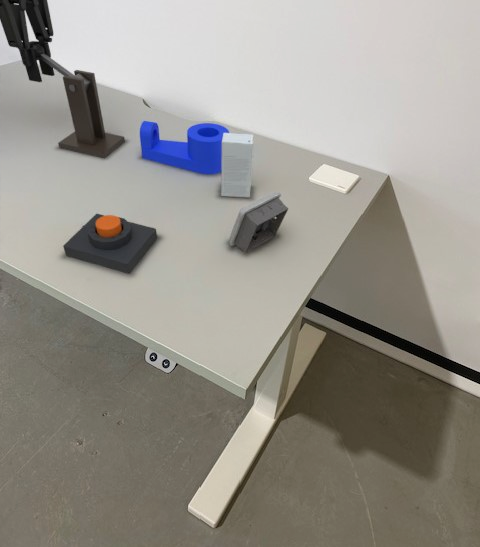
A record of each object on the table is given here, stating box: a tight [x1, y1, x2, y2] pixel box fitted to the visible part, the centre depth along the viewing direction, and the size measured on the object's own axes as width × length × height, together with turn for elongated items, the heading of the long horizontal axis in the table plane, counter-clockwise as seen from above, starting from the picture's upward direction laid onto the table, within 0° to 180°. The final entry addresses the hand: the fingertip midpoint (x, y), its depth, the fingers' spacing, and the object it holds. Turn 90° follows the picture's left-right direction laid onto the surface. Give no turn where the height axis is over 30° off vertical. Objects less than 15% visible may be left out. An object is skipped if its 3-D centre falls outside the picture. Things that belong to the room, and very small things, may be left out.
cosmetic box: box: [220, 132, 254, 199], centre depth 84 cm, size 6×4×12 cm
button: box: [96, 214, 122, 237], centre depth 70 cm, size 4×4×2 cm
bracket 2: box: [139, 120, 230, 175], centre depth 94 cm, size 20×9×8 cm, turn 76°
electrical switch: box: [228, 190, 289, 254], centre depth 73 cm, size 9×5×9 cm, turn 133°
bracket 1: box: [57, 69, 126, 159], centre depth 94 cm, size 12×9×16 cm
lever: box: [29, 40, 90, 91], centre depth 89 cm, size 14×4×4 cm, turn 71°
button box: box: [62, 213, 158, 274], centre depth 72 cm, size 12×10×4 cm
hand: (42, 77), depth 92 cm, fingers closed on lever, 4 cm apart
